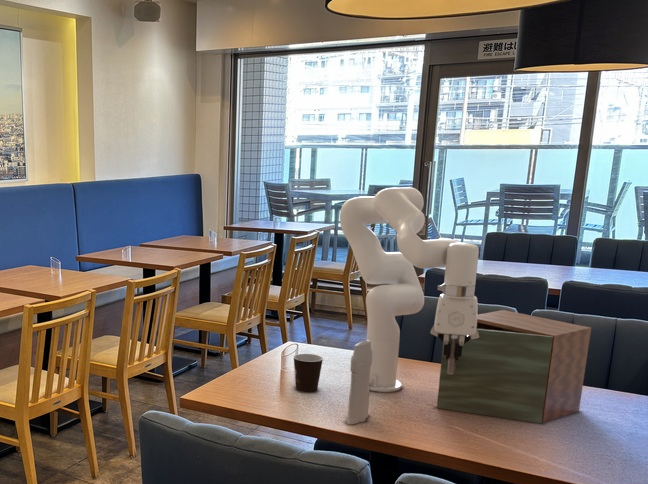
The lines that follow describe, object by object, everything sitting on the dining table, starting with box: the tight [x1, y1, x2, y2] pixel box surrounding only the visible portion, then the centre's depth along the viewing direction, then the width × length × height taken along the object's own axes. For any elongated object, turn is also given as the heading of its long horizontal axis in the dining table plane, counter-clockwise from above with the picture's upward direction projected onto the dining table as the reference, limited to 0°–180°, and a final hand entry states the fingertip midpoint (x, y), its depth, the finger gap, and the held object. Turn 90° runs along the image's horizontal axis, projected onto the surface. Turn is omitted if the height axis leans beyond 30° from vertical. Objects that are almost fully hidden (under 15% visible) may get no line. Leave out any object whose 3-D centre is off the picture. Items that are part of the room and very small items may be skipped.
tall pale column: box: [346, 339, 373, 425], centre depth 192 cm, size 11×4×22 cm, turn 136°
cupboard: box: [477, 309, 592, 423], centre depth 204 cm, size 17×26×24 cm, turn 30°
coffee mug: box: [293, 353, 324, 393], centre depth 220 cm, size 12×9×10 cm
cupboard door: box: [436, 329, 553, 424], centre depth 192 cm, size 7×26×24 cm, turn 62°
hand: (451, 358), depth 192 cm, fingers closed on cupboard door
